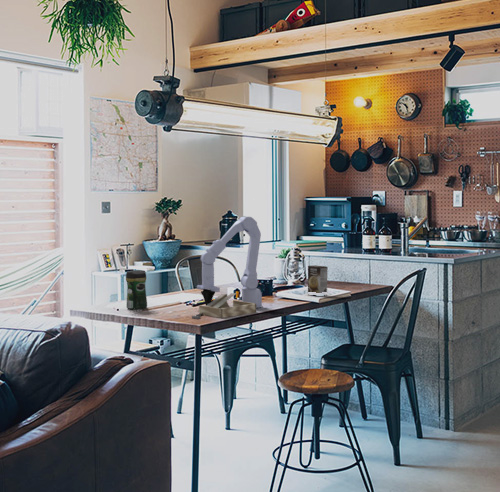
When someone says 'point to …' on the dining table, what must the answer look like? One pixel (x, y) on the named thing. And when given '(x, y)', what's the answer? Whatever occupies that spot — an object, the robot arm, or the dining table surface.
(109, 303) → the dining table surface
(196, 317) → the hook
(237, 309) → the bay
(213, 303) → the beige slanted rack
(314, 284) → the coffee box
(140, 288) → the coffee jar
